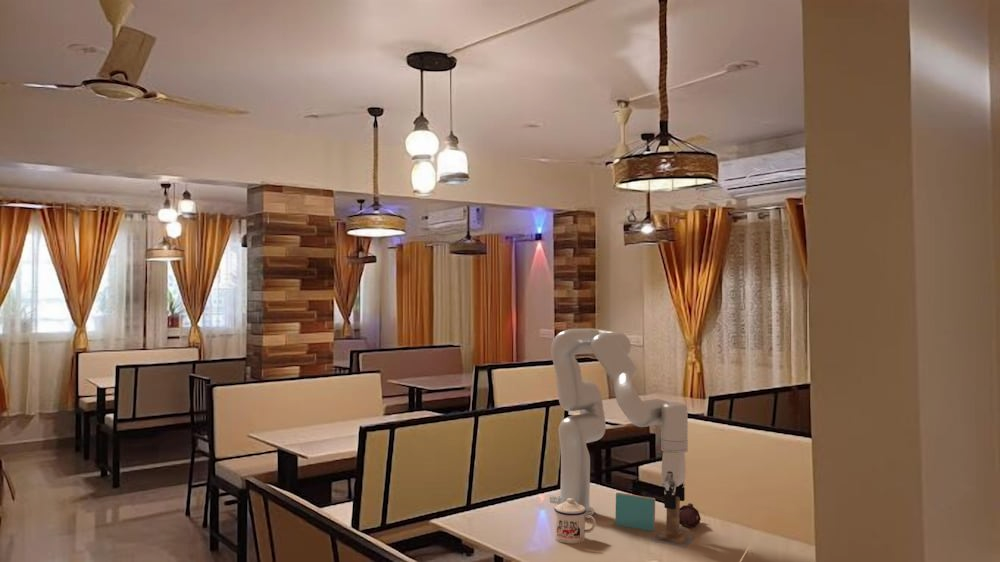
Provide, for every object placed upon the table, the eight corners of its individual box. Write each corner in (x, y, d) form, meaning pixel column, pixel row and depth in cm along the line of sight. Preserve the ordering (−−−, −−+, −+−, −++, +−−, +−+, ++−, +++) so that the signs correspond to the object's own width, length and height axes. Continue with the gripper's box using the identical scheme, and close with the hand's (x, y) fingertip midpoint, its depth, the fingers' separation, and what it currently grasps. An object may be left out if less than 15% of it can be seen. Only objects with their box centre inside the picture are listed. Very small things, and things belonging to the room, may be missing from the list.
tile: (615, 525, 222) (615, 493, 222) (617, 524, 223) (617, 492, 223) (653, 532, 216) (653, 499, 216) (654, 531, 218) (655, 498, 218)
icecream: (703, 514, 214) (703, 505, 228) (678, 505, 216) (680, 497, 231) (696, 537, 214) (697, 526, 228) (672, 528, 216) (674, 518, 230)
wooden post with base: (658, 539, 209) (659, 497, 209) (663, 534, 213) (663, 493, 213) (682, 544, 205) (683, 501, 205) (686, 539, 210) (687, 497, 210)
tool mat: (651, 542, 208) (651, 540, 208) (660, 533, 215) (660, 532, 215) (686, 548, 203) (686, 547, 203) (693, 539, 211) (693, 538, 211)
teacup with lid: (552, 542, 206) (552, 501, 206) (556, 532, 215) (557, 493, 215) (594, 546, 203) (594, 505, 203) (596, 536, 212) (597, 496, 212)
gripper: (669, 439, 219) (669, 495, 218) (653, 449, 204) (653, 510, 203) (694, 441, 215) (694, 499, 215) (679, 451, 200) (679, 513, 200)
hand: (674, 504), depth 209 cm, fingers open, 9 cm apart
